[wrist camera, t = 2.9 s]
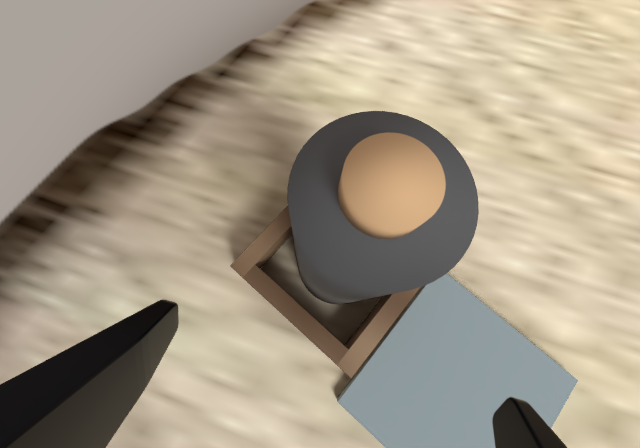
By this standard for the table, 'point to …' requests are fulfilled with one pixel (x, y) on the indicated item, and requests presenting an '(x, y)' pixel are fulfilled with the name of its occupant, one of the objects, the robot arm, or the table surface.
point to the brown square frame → (341, 355)
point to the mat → (450, 374)
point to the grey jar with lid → (379, 207)
